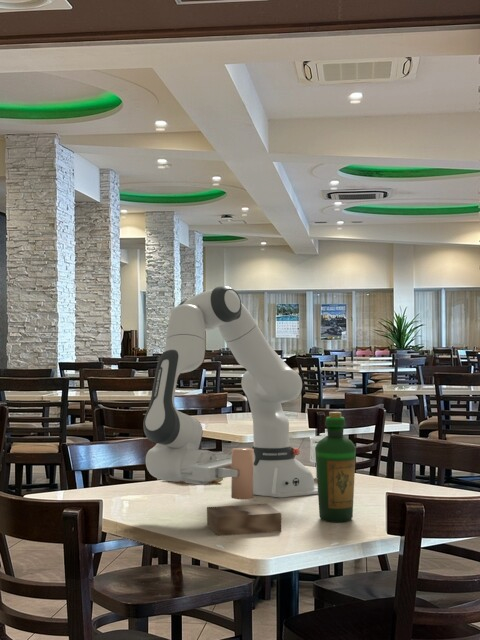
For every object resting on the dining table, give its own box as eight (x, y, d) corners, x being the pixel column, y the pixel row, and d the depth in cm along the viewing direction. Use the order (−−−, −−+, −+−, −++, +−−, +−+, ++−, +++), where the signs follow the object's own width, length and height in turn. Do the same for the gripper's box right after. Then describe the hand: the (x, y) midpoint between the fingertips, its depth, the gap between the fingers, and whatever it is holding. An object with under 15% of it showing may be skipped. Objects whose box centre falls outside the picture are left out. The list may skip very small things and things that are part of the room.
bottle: (346, 525, 206) (345, 414, 206) (308, 520, 211) (307, 413, 212) (363, 517, 215) (362, 411, 215) (326, 513, 220) (325, 410, 221)
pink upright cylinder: (249, 494, 207) (250, 447, 207) (255, 498, 201) (256, 450, 202) (228, 495, 205) (229, 448, 206) (234, 499, 200) (234, 450, 200)
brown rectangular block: (267, 521, 211) (266, 503, 211) (281, 531, 200) (281, 512, 200) (207, 524, 207) (207, 507, 207) (218, 535, 195) (217, 516, 195)
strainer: (334, 477, 279) (333, 433, 279) (325, 480, 273) (324, 435, 273) (315, 475, 282) (315, 432, 283) (306, 478, 276) (306, 434, 277)
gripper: (176, 459, 202) (222, 464, 194) (221, 450, 219) (265, 454, 212) (176, 485, 202) (222, 490, 194) (221, 474, 219) (265, 478, 211)
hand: (245, 471), depth 203 cm, fingers closed on pink upright cylinder, 5 cm apart
